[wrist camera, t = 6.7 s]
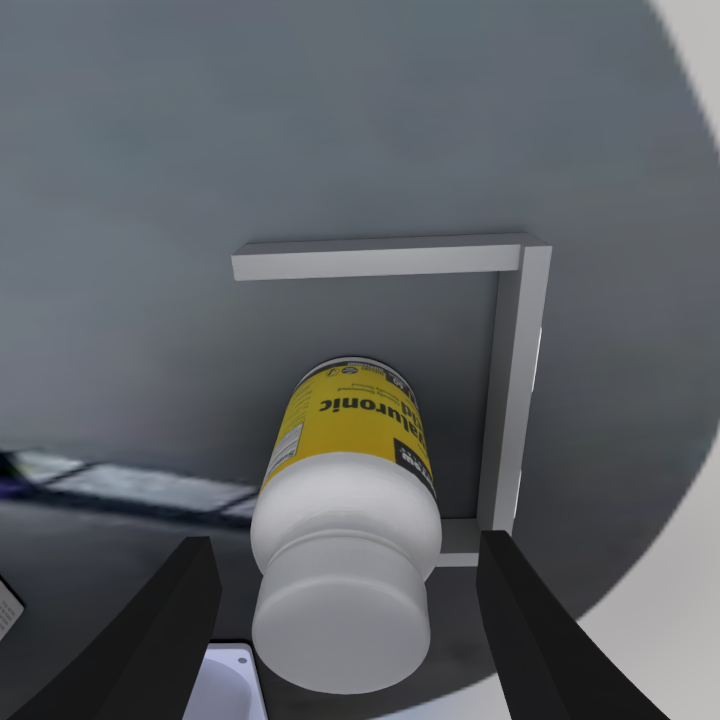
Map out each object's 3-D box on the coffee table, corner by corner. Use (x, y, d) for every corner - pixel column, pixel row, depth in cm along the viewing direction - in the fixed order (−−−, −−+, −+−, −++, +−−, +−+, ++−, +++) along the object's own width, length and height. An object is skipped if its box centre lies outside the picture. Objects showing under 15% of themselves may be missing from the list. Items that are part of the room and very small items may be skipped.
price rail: (496, 530, 21) (510, 573, 19) (289, 534, 22) (281, 576, 19) (531, 232, 15) (558, 245, 13) (246, 243, 16) (227, 258, 13)
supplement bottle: (444, 393, 18) (517, 623, 9) (372, 480, 20) (377, 738, 11) (330, 327, 17) (289, 518, 8) (266, 426, 19) (178, 667, 10)
